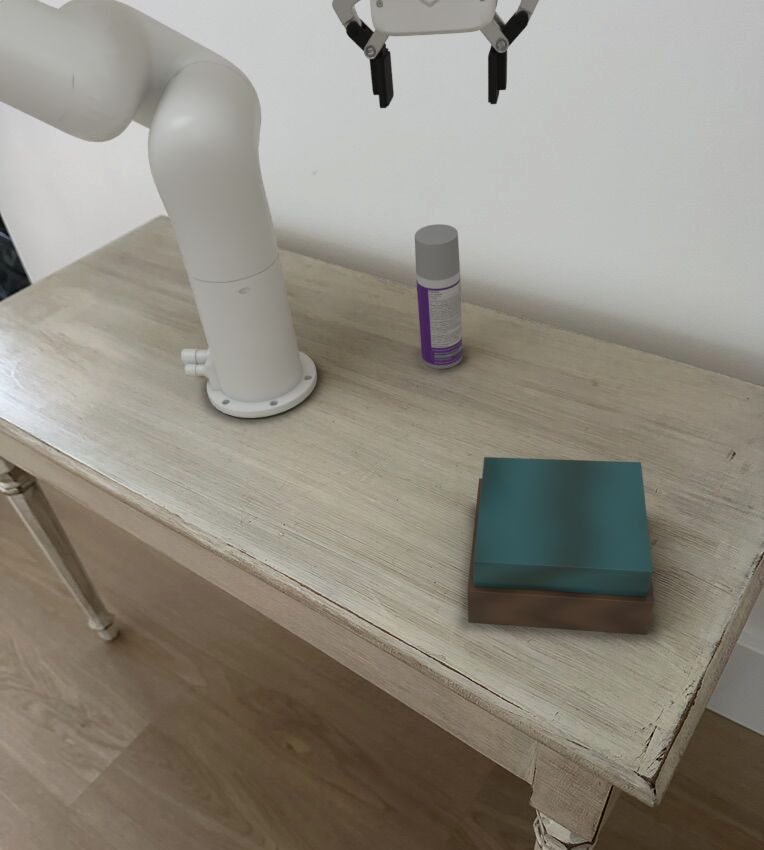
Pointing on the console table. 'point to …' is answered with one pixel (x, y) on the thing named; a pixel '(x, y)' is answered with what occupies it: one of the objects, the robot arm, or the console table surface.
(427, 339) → the container
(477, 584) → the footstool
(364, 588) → the console table surface
